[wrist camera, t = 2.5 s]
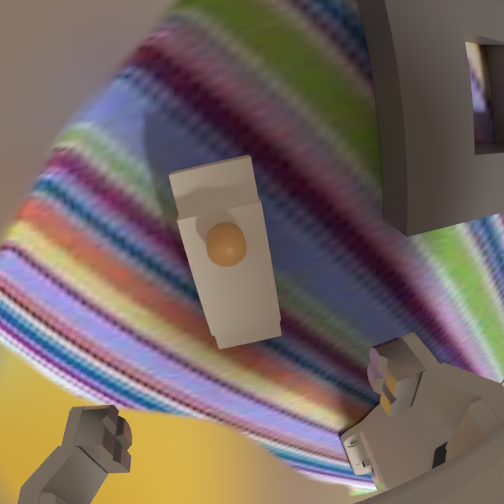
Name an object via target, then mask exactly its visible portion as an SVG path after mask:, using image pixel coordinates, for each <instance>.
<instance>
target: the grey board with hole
mask: <svg viewBox="0 0 504 504" xmlns="http://www.w3.org/2000/svg"><path fill="white" fill-rule="evenodd" d="M357 1H358V5H359V9H360V14H361V18H362V23H363V28H364V33H365V38H366V43H367V48H368V54H369V60H370V66H371V72H372V79H373V86H374V93H375V101H376V109H377V118H378V128H379V139H380V151H381V165H382V184H383V218H384V220H385V221H387V222H388V223H389V224H391V225H392V226H393V227H395V228H396V229H397V230H399V231H400V232H401V233H403V234H404V235H405V236H407V237H408V236H412V235H416V234H420V233H424V232H428V231H432V230H436V229H440V228H444V227H447V226H451V225H455V224H459V223H463V222H467V221H471V220H475V219H479V218H482V217H486V216H490V215H494V214H498V213H501V212H504V0H357ZM465 42H470V43H475V44H479V45H484V46H486V52H487V59H488V66H489V74H490V83H491V93H492V106H493V128H494V144H477V145H474V118H473V103H472V91H471V82H470V73H469V66H468V59H467V52H466V46H465Z"/></svg>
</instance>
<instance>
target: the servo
mask: <svg viewBox="0 0 504 504" xmlns="http://www.w3.org/2000/svg"><path fill="white" fill-rule="evenodd" d="M169 179H170V183H171V187H172V191H173V195H174V199H175V203H176V206H177V210H178V218H177V223H178V226H179V230H180V234H181V237H182V241H183V244H184V248H185V251H186V255H187V258H188V261H189V265H190V268H191V272H192V275H193V278H194V281H195V285H196V288H197V291H198V294H199V298H200V301H201V304H202V307H203V310H204V313H205V317H206V320H207V323H208V326H209V329H210V332H211V335H212V336H214V335H215V338H216V341H217V345H218V348H219V349H224V348H228V347H233V346H238V345H243V344H247V343H252V342H257V341H261V340H265V339H270V338H274V337H278V336H282V334H281V328H280V322H279V321H281V316H280V310H279V304H278V298H277V291H276V285H275V279H274V273H273V267H272V261H271V255H270V249H269V244H268V238H267V232H266V226H265V220H264V215H263V209H262V203H261V201H260V199H259V197H258V193H257V188H256V182H255V177H254V171H253V166H252V160H251V157H250V155H245V156H240V157H235V158H230V159H225V160H220V161H216V162H211V163H207V164H202V165H198V166H194V167H189V168H185V169H181V170H177V171H173V172H170V174H169Z"/></svg>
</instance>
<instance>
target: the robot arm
mask: <svg viewBox="0 0 504 504" xmlns="http://www.w3.org/2000/svg"><path fill="white" fill-rule="evenodd" d="M369 357H370V359H371V360H372V361H371V362H370V363H369V365H368V370H367V373H368V379H369V382H370V385H371V387H372V389H373V391H374V392H376V393H378V394H380V395H381V398H380V404H379V405H378V406H376V407H375V408H374V409H373V410H372V411H371V412H370V413H369V414H368V415H367V416H366V417H365V418H364V419H363V420H362V421H361V422H360V423H359V424H357V425H355V426H354V427H352V428H351V429H349V430H348V431H346V432H345V433H344V434H343V435H342V436H341V441H342V443H343V446H344V449H345V451H346V454H347V456H348V459H349V462H350V464H351V467H352V469H353V471H354V473H355V475H362V474H367V473H370V474H371V476H372V479H373V481H374V484H375V486H376V488H377V490H378V491H379V492H381V493H380V494H378V495H375V496H373V497H370V498H368V499H365V500H362V501H360V502H357V503H354V504H504V386H503V385H502V384H501V383H498V382H495V381H492V380H490V379H487V378H484V377H481V376H479V375H476V374H473V373H471V372H468V371H465V370H463V369H460V368H457V367H455V366H452V365H449V364H447V363H444V362H443V363H441V364H440V363H439V362H438V361H437V359H436V358H435V357H434V356H433V354H432V353H431V352H430V351H429V350H428V348H427V347H426V346H425V345H424V344H423V342H422V341H421V340H420V339H419V338H418V336H417V335H416V334H415V333H413V332H411V333H409V334H406V335H404V336H401V337H399V338H395V339H392V340H390V341H387V342H384V343H382V344H379V345H376V346H374V347H371V349H370V350H369ZM118 413H119V411H118V409H117V408H116V407H115V406H114V405H101V406H83V407H72V409H71V410H70V412H69V416H68V420H67V424H66V428H65V432H64V437H63V441H62V445H61V446H58V447H57V448H56V449H55V450H54V451H53V452H52V453H51V455H50V456H49V457H48V458H47V459H46V460H45V461H44V462H43V463H42V464H41V466H40V467H39V468H38V469H37V470H36V471H35V472H34V473H33V474H32V476H31V477H30V478H29V479H28V480H27V481H26V482H25V483H24V485H23V486H22V487H21V490H20V495H19V500H18V504H90V503H91V501H92V500H93V498H94V496H95V495H96V493H97V492H98V490H99V488H100V487H101V485H102V484H103V482H104V480H105V479H106V477H107V476H108V474H107V473H128V472H130V463H131V455H130V454H129V452H128V451H127V450H128V449H129V447H130V446H131V445H132V434H131V429H130V426H129V424H128V422H127V421H126V420H125V419H124V418H122V417H120V416H118Z"/></svg>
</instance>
